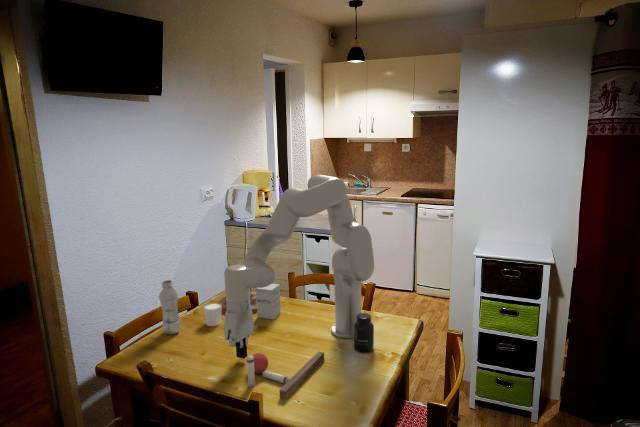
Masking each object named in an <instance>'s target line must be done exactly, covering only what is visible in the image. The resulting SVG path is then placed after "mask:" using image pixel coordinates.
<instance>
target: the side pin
mask: <svg viewBox="0 0 640 427" xmlns="http://www.w3.org/2000/svg"><path fill="white" fill-rule="evenodd" d="M253 355H254V354H252V355H251V354H250V355H249V354H248V355H247V357H246V368H247V369H246V370H247V381H248V382H247V383H248V387H249V388H253V387H255V386H256V376H255V374H256V373H255V372H254V356H253Z"/></svg>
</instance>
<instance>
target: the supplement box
mask: <svg viewBox="0 0 640 427" xmlns="http://www.w3.org/2000/svg"><path fill="white" fill-rule="evenodd" d="M280 288H281V287H280V284H278V283H272V284H271V285H269V286H267V287H262V288H255V294H256V299H257V313H256V315H257V316H256V317H257V318H260V319H266V320H267V319H268V320H272V321H273V320H275V319H276V318H277V317H278V316H279V315H280V314H281V289H280Z"/></svg>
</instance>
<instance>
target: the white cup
mask: <svg viewBox="0 0 640 427" xmlns="http://www.w3.org/2000/svg"><path fill="white" fill-rule="evenodd" d="M221 310H222V306H221V304H218V303H217V302H216V303H208V304H206V305H204V306H203V312H204V318H205V323H206V326H208V327H217V326H219V325H221V324H222V313H221Z"/></svg>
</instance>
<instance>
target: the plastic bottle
mask: <svg viewBox="0 0 640 427" xmlns="http://www.w3.org/2000/svg"><path fill="white" fill-rule="evenodd" d="M161 288H162V289H161V291H160V293H159V297H158V298H159V302H160V305H161V306H160V307H161V311H162V324H161V325H162V326H161V328H162V332H163V333H164V334H165V335H174V334H177V333H179V332H180V331H181V328H182V324H181V320H180V316H179V312H178V298H179V296H178V292H177V291H176V289H175V288H174V282H173V280H171V279H170V280H169V279H167V280H164V281H162V282H161Z"/></svg>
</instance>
